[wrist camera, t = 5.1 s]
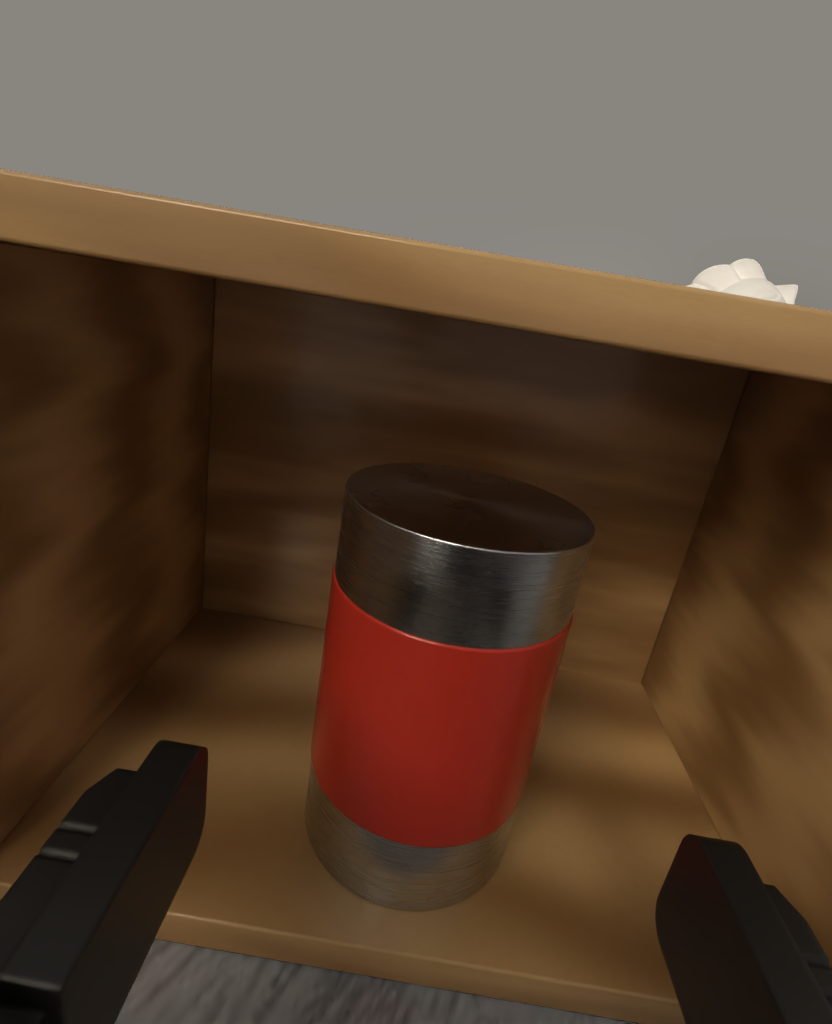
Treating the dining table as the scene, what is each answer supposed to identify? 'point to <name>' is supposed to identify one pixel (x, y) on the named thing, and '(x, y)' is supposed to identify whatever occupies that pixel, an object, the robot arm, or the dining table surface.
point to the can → (436, 675)
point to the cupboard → (313, 549)
